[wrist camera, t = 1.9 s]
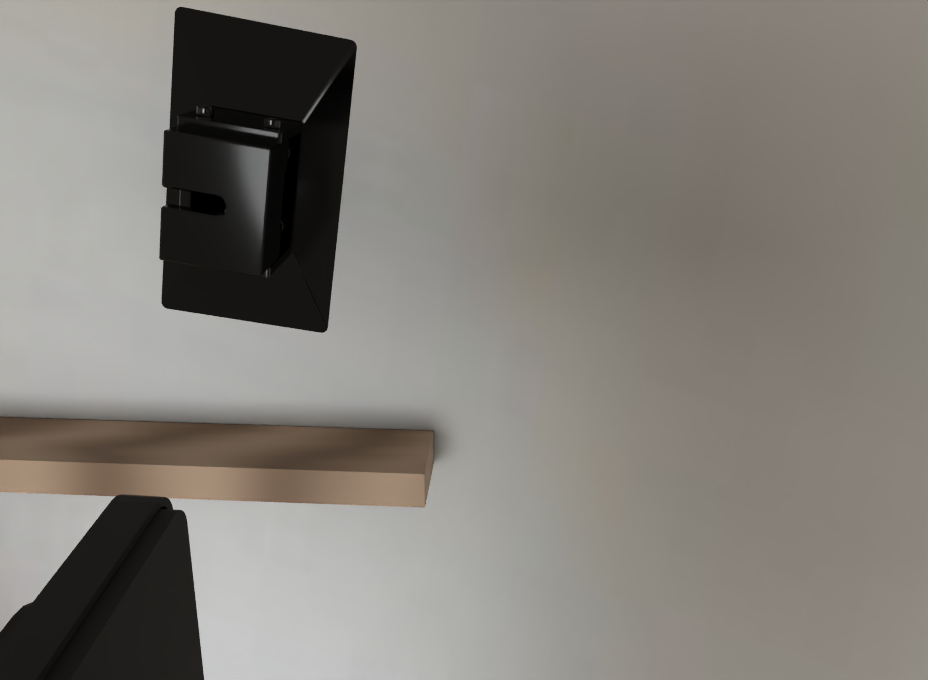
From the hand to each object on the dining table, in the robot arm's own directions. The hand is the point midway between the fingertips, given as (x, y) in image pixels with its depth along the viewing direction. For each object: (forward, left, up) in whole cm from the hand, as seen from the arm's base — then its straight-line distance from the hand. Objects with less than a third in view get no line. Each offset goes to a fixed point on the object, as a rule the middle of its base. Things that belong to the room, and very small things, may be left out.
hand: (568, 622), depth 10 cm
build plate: (+9, -2, -19) cm, 21 cm away
